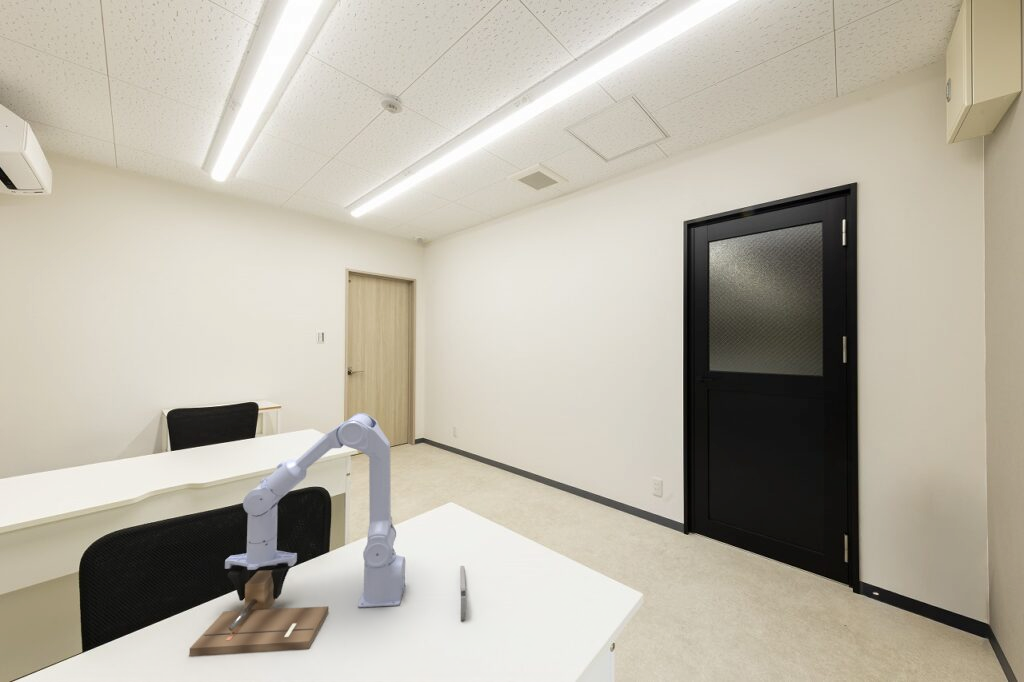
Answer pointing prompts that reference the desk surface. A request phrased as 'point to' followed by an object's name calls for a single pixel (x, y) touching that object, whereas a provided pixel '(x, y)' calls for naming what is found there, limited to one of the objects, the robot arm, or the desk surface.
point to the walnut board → (261, 631)
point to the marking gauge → (256, 595)
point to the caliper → (462, 593)
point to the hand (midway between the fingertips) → (260, 596)
